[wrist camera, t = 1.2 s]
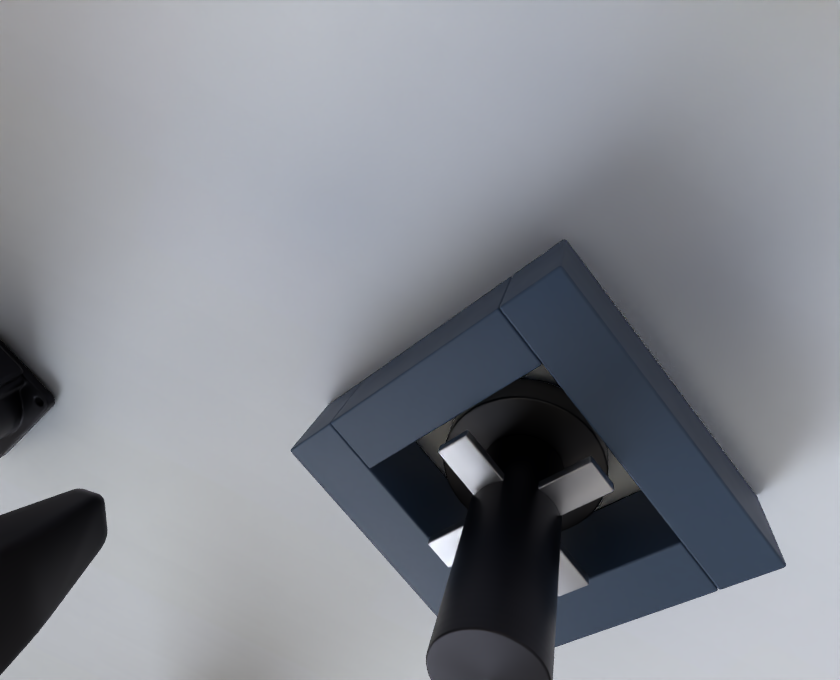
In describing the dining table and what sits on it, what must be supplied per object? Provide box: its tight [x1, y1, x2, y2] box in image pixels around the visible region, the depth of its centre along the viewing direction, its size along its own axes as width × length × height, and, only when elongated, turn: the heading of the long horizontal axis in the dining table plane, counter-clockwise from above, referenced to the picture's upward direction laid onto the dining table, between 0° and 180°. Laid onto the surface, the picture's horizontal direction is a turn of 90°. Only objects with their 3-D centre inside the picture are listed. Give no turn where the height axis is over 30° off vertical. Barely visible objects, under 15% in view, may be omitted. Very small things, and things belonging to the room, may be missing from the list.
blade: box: [426, 379, 614, 680], centre depth 18 cm, size 7×7×10 cm
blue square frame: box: [291, 240, 786, 647], centre depth 21 cm, size 12×12×4 cm
